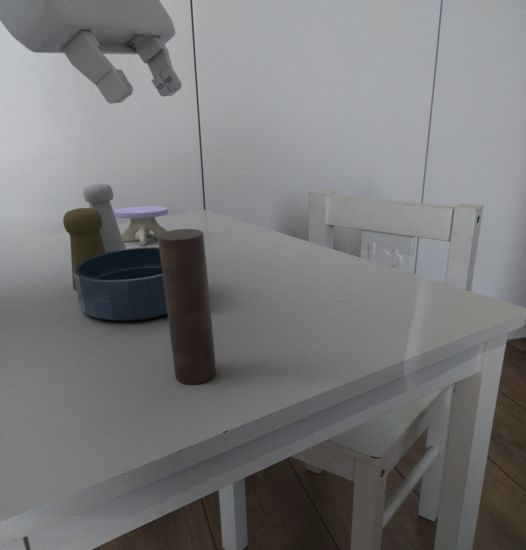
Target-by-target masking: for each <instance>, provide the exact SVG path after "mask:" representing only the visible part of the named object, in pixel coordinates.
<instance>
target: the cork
mask: <svg viewBox="0 0 526 550" xmlns="http://www.w3.org/2000/svg"><path fill="white" fill-rule="evenodd" d="M62 223H63V227H64V229H65V231H66V232H67V234H69V240H70V241H69V243H70V257H71V274H72V275H71V276H72V289H73V290H74V291H77V288H76V283H75V278H74V273H73V272H74V267H75V266H76V265H77V264H79V263H80V262H81V261H83V260H86V259H88V258H90V257H93V256H96V255H99V254H103V253H106V250H105V247H104V244H103V240H102V237H101V234H100V230H101V228H102V218H101V215H100V213H99V212H98V211H97V210H95V209H91V208H89V207H79V208H74V209H71V210H68V211H66V212H65V213H64V215H63V219H62Z"/></svg>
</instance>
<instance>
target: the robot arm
mask: <svg viewBox="0 0 526 550" xmlns="http://www.w3.org/2000/svg"><path fill="white" fill-rule="evenodd" d="M0 22H1V24H2V25H3V27H4V28H5V29H6V31H7V32H8V33H9V34H10V35H11V36H12V37H13V38H14V39H15V40H16V42H18V43H20V44H21V45H22V46H23V47H25V48H26V49H28V50H29V51H30V52H32V53H35V54H39V53H40V54H64V56H65V57H66V58H67V60H68V61H69V62H70V64H71V66H73V67H74V68H75V69H76V70H77V71H79V72H80V73H81V74H82V75H83V76H84V77H85V78H87V79H88V80H89V82H91V83H92V84H93V85H95V86H96V87H97V89H98V91H99V92H100V93H101V95H102V97H103V98H104V99H105V101H106V102H107V103H108V104H110V105H111V104H113V105H114V104H120V103H123V102H125V101H126V99H127V98H129V97H130V96H131V95H132V94H133V92H134V88H133V85H132V83H131V82H130V81H128V78H127V75H125V73H124V71H123V70H122V69H116V67H115V66H114V65H113V64H112V63H111V61H110V60H109V59H108V58H107V57H106V55H138V57H139V58H140V60H141V61H142V62H143V63H144V64H147V66H148V68H149V71H150V73H151V75H152V79H151V80H150V81H151V83H152V85H153V86H154V87H155V89H156V90H157V93H158V94H159V96H161V97H165V98H166V97H172V96H173V95H175V94H176V93H178V91H180V90H181V89H182V86H183V85H182V81H181V80H180V78H179V76H178V74H177V73H176V71H175V70H174V68H173V67H174V66H173V63H172V60H171V57H170V53H169V49H168V47H167V46H166V44H167V43H168V42H169V41H171V40H172V38H173V37H175V35H176V28H175V25H174V22H173V19H172V18H171V16H170V14H169V13H168V11H167V10H166V8H165V7H164V5H163V4H162V2H161V1H160V0H0Z"/></svg>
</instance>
